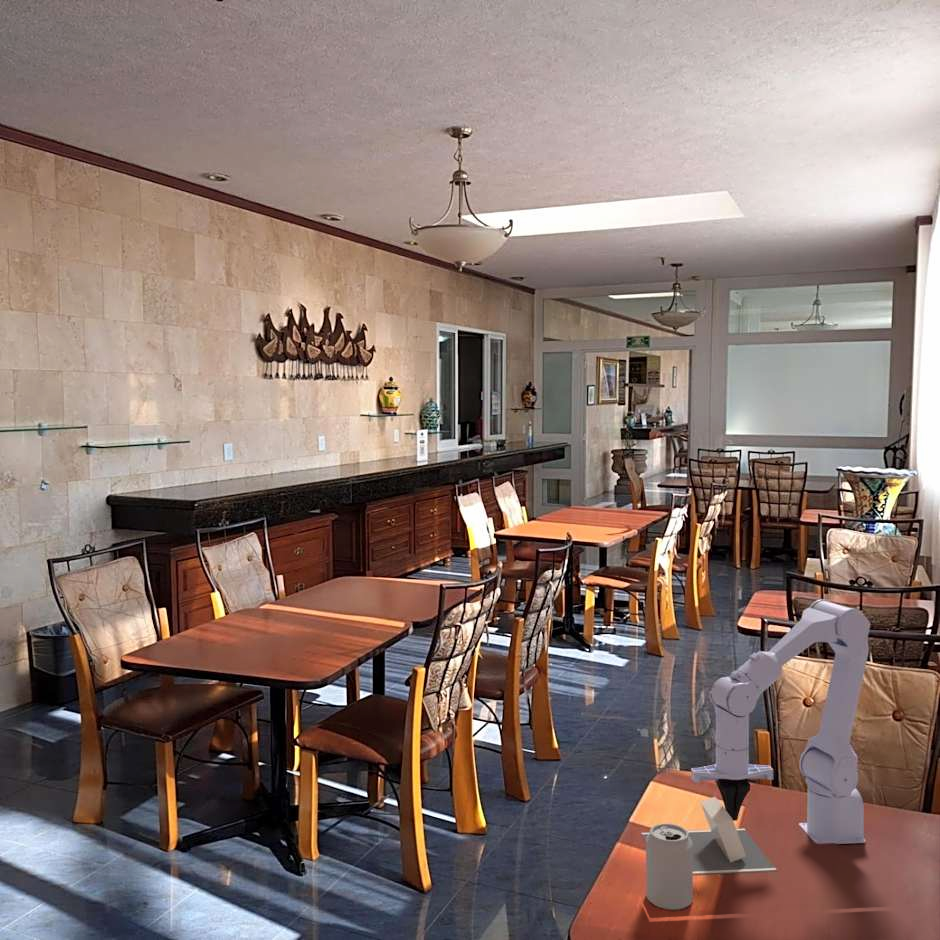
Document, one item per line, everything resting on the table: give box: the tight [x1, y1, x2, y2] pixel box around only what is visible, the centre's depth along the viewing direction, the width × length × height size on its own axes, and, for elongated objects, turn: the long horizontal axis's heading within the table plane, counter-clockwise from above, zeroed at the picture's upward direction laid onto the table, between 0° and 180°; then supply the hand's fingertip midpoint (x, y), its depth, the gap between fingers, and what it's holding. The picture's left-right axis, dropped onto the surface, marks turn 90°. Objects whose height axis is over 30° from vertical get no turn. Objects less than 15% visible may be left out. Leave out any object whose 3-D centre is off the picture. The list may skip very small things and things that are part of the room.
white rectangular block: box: [700, 796, 746, 862], centre depth 162 cm, size 3×9×8 cm, turn 4°
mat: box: [640, 827, 778, 876], centre depth 162 cm, size 20×16×1 cm
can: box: [645, 823, 694, 911], centre depth 146 cm, size 8×8×12 cm
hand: (731, 818), depth 162 cm, fingers closed
